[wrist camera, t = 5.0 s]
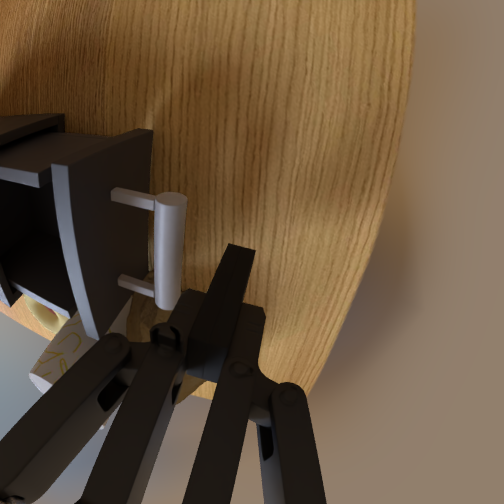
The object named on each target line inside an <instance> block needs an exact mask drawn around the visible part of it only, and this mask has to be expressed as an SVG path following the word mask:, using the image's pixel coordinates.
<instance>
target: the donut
mask: <svg viewBox="0 0 504 504" xmlns="http://www.w3.org/2000/svg"><path fill="white" fill-rule="evenodd" d="M23 295H24V299H25V302H26V304H27V306H28V308H29V310H30V311H31V313H32V314H33V316H34V317H35V318H36V319H37V320H38V321H39V322H40V323H41V324H42V325H43V326H44V327H45V328H46V329H48V330H49V331H51V332H52V333H54V334H57V333H58V332H59V330H60V329H61V328H62V326H63V325H64V324H65V322H66V321H67V320H68V319H69V318H67V317H65V316H63V315H61V314H59V313H58V312H56V311H54V310H52V309H50V308H48V307H46V306H45V305H43V304H41V303H39V302H37V301H36V300H34V299H32V298H31V297H29V296H27V295H25V294H24V293H23Z"/></svg>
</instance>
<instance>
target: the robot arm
mask: <svg viewBox="0 0 504 504" xmlns="http://www.w3.org/2000/svg"><path fill="white" fill-rule="evenodd" d="M255 252H256V250H253V249H249V248H245V247H241V246H237V245H233V244H229V243H228V246H227V248H226V250H225V252H224V255H223V257H222V259H221V261H220V264H219V266H218V268H217V270H216V273H215V275H214V277H213V279H212V282H211V284H210V286H209V289H208V291H207V293H204V292H200V291H197V290H193V289H190V288H189V289H188V290H186V291H185V292H184V293H182V294H181V296H180V298H179V299H178V301H177V304H176V305H175V307H174V310H173V311H172V313H171V315H170V317H169V319H168V321H167V322H162V323H158V324H156V325H154V326H153V327H152V328H151V329H150V330H149V332H150V341H149V342H129V340H128V339H127V338H126V337H125V336H124V335H122V334H120V333H114V332H112V333H108V334H106V335H104V336H103V337H101V338H100V339H99V340H98V341H97V342H96V343H95V344H94V345H93V346H92V347H91V348H90V349H89V350H88V351H87V352H86V353H85V354H84V355H83V356H82V357H81V358H80V359H79V360H78V361H77V362H76V363H74V364H73V365H72V366H71V367H70V368H69V369H68V370H67V371H66V372H65V373H64V374H63V375H62V376H61V377H60V378H59V379H58V380H57V381H56V382H55V383H54V384H53V385H52V386H51V387H50V389H49V390H48V391H47V392H46V393H45V394H44V395H43V396H42V397H41V398H40V399H39V400H38V401H37V402H36V403H35V404H34V405H33V406H32V407H31V408H30V409H29V410H28V411H27V413H25V415H24V416H23V417H22V418H21V419H20V420H19V421H18V422H17V423H16V424H15V425H14V426H13V428H12V429H11V430H10V431H9V432H8V433H7V434H6V435H5V436H4V437H3V439H2V440H1V441H0V504H31V503H33V502H35V501H36V500H38V499H39V498H40V497H41V496H42V495H43V494H44V493H45V492H46V491H47V490H48V489H49V488H50V487H51V485H52V484H53V483H54V482H55V480H56V479H57V478H58V477H59V476H60V475H61V473H62V472H63V471H64V470H65V469H66V467H67V466H68V465H69V464H70V462H71V461H72V460H73V459H74V458H75V457H76V455H77V454H78V453H79V452H80V451H81V450H82V448H83V447H84V446H85V445H86V444H87V442H88V441H89V440H90V439H91V438H92V437H93V435H94V434H95V433H96V432H97V430H99V428H100V427H101V426H102V425H103V424H104V422H105V421H106V420H107V419H108V418H109V417H110V415H111V414H112V413H113V412H114V411H115V409H116V408H117V407H118V406H119V405H120V404H121V405H120V408H119V410H118V412H117V414H116V416H115V419H114V421H113V423H112V425H111V428H110V430H109V432H108V434H107V436H106V439H105V441H104V443H103V445H102V448H101V450H100V452H99V455H98V457H97V459H96V462H95V465H94V467H93V469H92V472H91V474H90V476H89V479H88V482H87V484H86V486H85V489H84V492H83V494H82V496H81V498H80V499H79V500H78V501H77V502H76V503H74V504H141V502H142V499H143V496H144V493H145V490H146V487H147V484H148V481H149V478H150V475H151V473H152V470H153V467H154V464H155V461H156V458H157V455H158V452H159V450H160V447H161V444H162V441H163V438H164V435H165V432H166V430H167V427H168V424H169V421H170V418H171V416H172V413H173V410H174V407H175V405H176V402H177V399H178V396H179V394H180V391H181V388H182V385H183V378H184V375H185V372H186V374H187V375H190V376H194V377H197V378H200V379H204V380H207V381H211V382H214V383H217V386H216V389H215V393H214V396H213V400H212V403H211V407H210V410H209V413H208V417H207V420H206V424H205V427H204V431H203V434H202V437H201V441H200V444H199V448H198V451H197V455H196V458H195V462H194V465H193V468H192V472H191V475H190V478H189V482H188V485H187V488H186V492H185V496H184V499H183V502H182V504H230V501H231V497H232V492H233V488H234V484H235V479H236V475H237V470H238V466H239V461H240V456H241V452H242V446H243V442H244V437H245V432H246V427H247V423H248V419H250V420H251V421H253V422H255V423H256V426H257V436H258V446H259V457H260V466H261V476H262V486H263V496H264V504H327V503H326V497H325V492H324V486H323V481H322V476H321V470H320V464H319V459H318V454H317V449H316V443H315V438H314V434H313V428H312V423H311V418H310V413H309V408H308V404H307V398H306V395H305V393H304V390H303V389H302V388H301V387H300V386H298V385H296V384H294V383H290V382H284V383H280V384H278V383H276V382H274V381H272V380H270V379H269V378H267V377H266V376H265V375H264V374H263V373H262V372H261V371H260V369H259V366H258V357H259V352H260V346H261V341H262V335H263V330H264V324H265V319H266V316H265V313H264V310H263V308H262V307H258V306H254V305H251V304H247V303H243V299H244V295H245V292H246V288H247V284H248V280H249V276H250V272H251V268H252V264H253V260H254V256H255ZM121 402H122V403H121Z"/></svg>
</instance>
